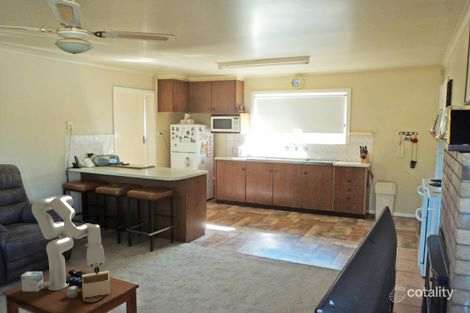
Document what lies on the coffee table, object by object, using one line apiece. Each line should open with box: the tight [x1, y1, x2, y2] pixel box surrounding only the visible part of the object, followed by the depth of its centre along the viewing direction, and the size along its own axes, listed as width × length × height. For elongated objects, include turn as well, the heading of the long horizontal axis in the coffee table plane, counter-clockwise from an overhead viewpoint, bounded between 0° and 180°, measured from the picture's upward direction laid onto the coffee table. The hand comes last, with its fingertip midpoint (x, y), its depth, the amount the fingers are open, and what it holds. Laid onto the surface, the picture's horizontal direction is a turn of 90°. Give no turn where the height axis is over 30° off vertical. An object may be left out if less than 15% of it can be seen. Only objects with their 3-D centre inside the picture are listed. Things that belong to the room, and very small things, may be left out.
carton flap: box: [81, 270, 110, 278], centre depth 231 cm, size 16×14×1 cm
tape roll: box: [66, 285, 79, 299], centre depth 226 cm, size 6×6×5 cm
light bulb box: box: [20, 271, 45, 292], centre depth 235 cm, size 11×7×11 cm, turn 87°
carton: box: [81, 272, 111, 299], centre depth 231 cm, size 16×14×9 cm
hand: (97, 273), depth 227 cm, fingers closed
